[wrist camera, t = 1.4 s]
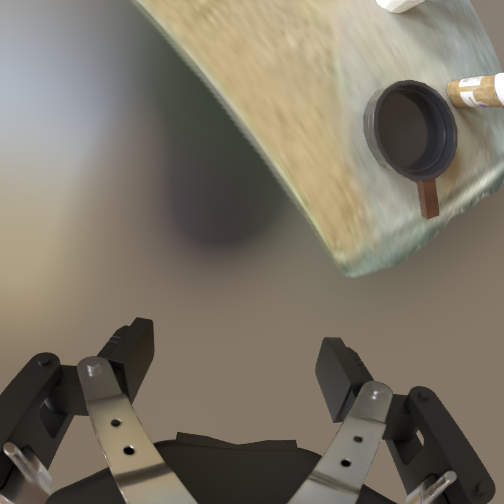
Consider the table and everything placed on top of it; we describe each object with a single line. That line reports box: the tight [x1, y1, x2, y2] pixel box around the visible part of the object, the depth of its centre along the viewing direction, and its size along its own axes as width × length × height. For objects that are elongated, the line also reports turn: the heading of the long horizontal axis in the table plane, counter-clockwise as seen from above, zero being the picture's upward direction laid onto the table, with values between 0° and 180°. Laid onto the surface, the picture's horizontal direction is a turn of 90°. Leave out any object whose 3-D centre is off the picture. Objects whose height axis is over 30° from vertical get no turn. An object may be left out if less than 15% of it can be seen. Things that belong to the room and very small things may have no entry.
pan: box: [364, 80, 457, 181], centre depth 28 cm, size 13×13×4 cm
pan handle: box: [411, 178, 439, 219], centre depth 32 cm, size 6×2×4 cm, turn 21°
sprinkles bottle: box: [447, 73, 504, 108], centre depth 20 cm, size 5×5×14 cm
